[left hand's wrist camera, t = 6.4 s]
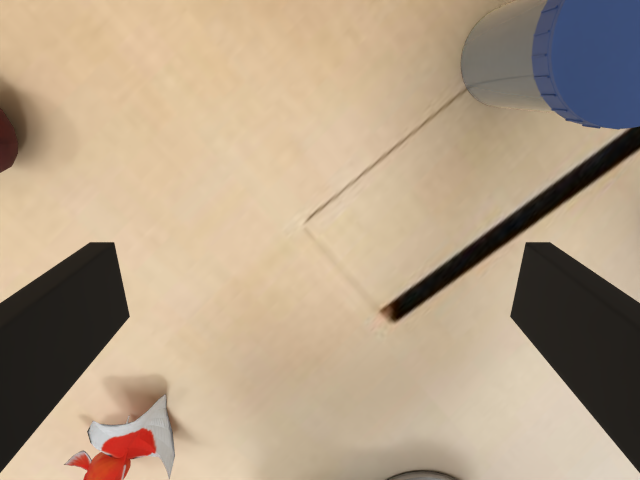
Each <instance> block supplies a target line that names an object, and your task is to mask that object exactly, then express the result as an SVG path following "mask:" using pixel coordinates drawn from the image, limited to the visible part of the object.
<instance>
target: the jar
mask: <svg viewBox="0 0 640 480" xmlns="http://www.w3.org/2000/svg"><path fill="white" fill-rule="evenodd" d="M547 1H548V0H514V1H512V2H510V3H508V4H506V5H503V6H501V7H499V8H497V9H495V10H493V11H491V12H490V13H488V14H487V15H486V16H484V17H483V18H482V19H481V20H480V21H479V22H478V23H477V24H476V25H475V27H474V28H473V29H472V31H471V32H470V34H469V36H468V38H467V40H466V42H465V45H464V48H463V52H462V57H461V72H462V77H463V81H464V83H465V85H466V88H467V89H468V91H469V92H470V93H471V95H472V96H473V97H474V98H475V99H477V100H478V101H479V102H481V103H483V104H485V105H487V106H491V107H498V108H508V109H519V110H529V111H539V112H550V113H556V112H555V111H552V110H551V109H552V108H550V107H549V105H548V104H547V103H546V102H545V100H544V99H543V97H541V96H540V95H541V94H540V92H539V90H538V87H537V85H536V82H535V79H534V78H533V77H534V74H533V68H532V58H531V56H532V46H533V39H534V36H533V34H535V30H536V27H537V23H538V21H539V18H540V15H541V11H542V10H543V9H544V7H545V5H546V3H547Z"/></svg>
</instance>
